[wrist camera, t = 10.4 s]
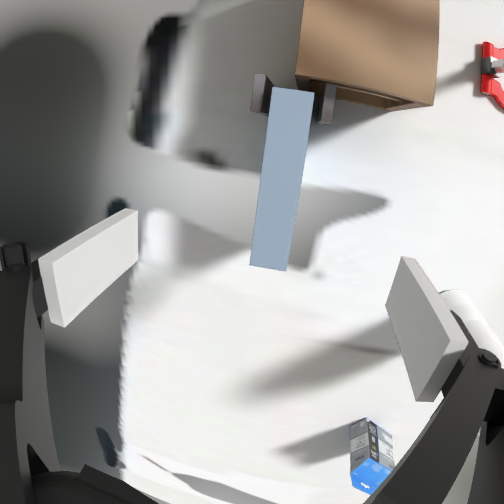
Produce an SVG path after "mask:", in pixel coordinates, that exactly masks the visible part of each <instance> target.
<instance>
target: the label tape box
mask: <svg viewBox="0 0 504 504" xmlns="http://www.w3.org/2000/svg"><path fill="white" fill-rule="evenodd" d="M350 461H351V467H350V469H351V470H350V475H351V480H352V486H353V487H355V488H356V489H359V490H361V491H363V492H365V493H367V494H369V495H372V493H373V492H374V491H375V490H376V489H377V488H378V487H379V486H380V484H381V483H382V482H383V481H384V480H385V479H386V477H387V476H388V475H389V474H390V473H391V471H392V470H393V469H394V468H395V464H394V454H393V444H392V436H391V435H390V434H388V433H387V432H386V431H384V430H383V429H381V428H380V427H378V426H377V425H376V424H374V423H373V422H372V421H370V420H369V419H368V418H365V419H363V420H361V421H359V422H357V423H355V424H353V425H351V426H350ZM361 483H363V484H365V485H368V486H369V487H370V489H369V488H365V487H364V486H362V485H361Z"/></svg>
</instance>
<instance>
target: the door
mask: <svg viewBox="0 0 504 504" xmlns="http://www.w3.org/2000/svg"><path fill="white" fill-rule="evenodd" d="M313 101H314V93H313V92H307V91H300V90H293V89H286V88H278V87H273V88H272V95H271V103H270V111H269V118H268V126H267V133H266V141H265V149H264V156H263V164H262V172H261V179H260V187H259V195H258V203H257V211H256V218H255V226H254V233H253V241H252V249H251V256H250V264H249V265H252V266H257V267H263V268H268V269H274V270H280V271H285V272H286V269H287V264H288V258H289V253H290V247H291V241H292V236H293V230H294V224H295V217H296V212H297V206H298V200H299V194H300V188H301V182H302V175H303V169H304V163H305V156H306V150H307V143H308V136H309V129H310V122H311V115H312V108H313Z"/></svg>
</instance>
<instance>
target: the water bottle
mask: <svg viewBox="0 0 504 504" xmlns="http://www.w3.org/2000/svg"><path fill="white" fill-rule="evenodd" d="M440 296H441V298H442V299H443V301H444V302H445V304H446V305H447V307H448V308H449V310H453V311H454V312H455V313H456V314H457V315H458V316H459V317H460V318H461V319H462V321H463V323H464V324H465V326H466V327H467V329H468V331H469V332H470V334H471V335H472V337H473V339H474V340H475V342H476V344H477V345H478V347H479V348H482V349H486V350H488V351H490V352H492V353H493V354H495V355H496V356H497V358H498V359H499V360H500V362H501V368H503V369H504V346H503V344H502V343H501V341H500V340H499V339H498V337H497V336H496V335H495V333H494V332H493V331H492V330H491V329H490V328H489V327H488V325H487V323H486V321H485V319H484V317H483V316H482V315H481V313H480V312H479V311H478V310H477V309H476V308H475V306H474V304H473V302H472V301H471V300H470V298H469V297H468V296H467V295H466V294H465V293H464V292H462V291H460V290H448V291H445V292H443V293H441V294H440ZM480 428H481V427H480ZM477 436H479V437H480V430H479V432H478V434H477Z"/></svg>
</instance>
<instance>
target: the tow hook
mask: <svg viewBox="0 0 504 504" xmlns="http://www.w3.org/2000/svg"><path fill="white" fill-rule="evenodd" d="M503 72H504V48H502V49H496V48H495V47H493V44H491V43H489V42H483V58H482V65H481V75H482V80H481V93H483V94H485V95H492V96H494V98H495V99H496V101H497V102H498V103H499V105H500V106H501V107H502V108H503V109H504V91H503V90H502V87H501V85H500V83H499V82H498V81H496V80H494V79H493V78H500V77H501V73H503Z"/></svg>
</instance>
